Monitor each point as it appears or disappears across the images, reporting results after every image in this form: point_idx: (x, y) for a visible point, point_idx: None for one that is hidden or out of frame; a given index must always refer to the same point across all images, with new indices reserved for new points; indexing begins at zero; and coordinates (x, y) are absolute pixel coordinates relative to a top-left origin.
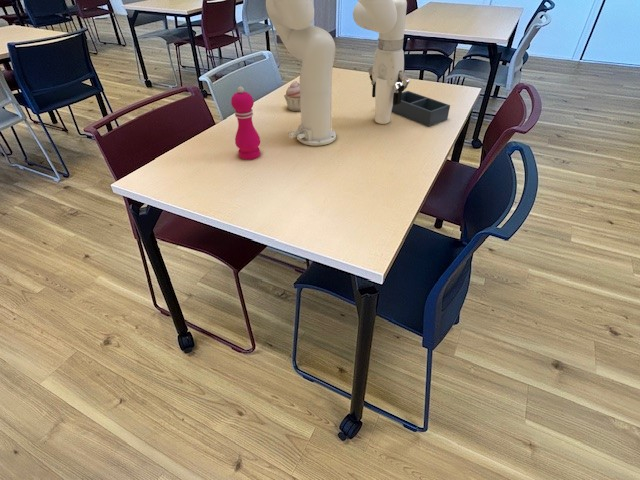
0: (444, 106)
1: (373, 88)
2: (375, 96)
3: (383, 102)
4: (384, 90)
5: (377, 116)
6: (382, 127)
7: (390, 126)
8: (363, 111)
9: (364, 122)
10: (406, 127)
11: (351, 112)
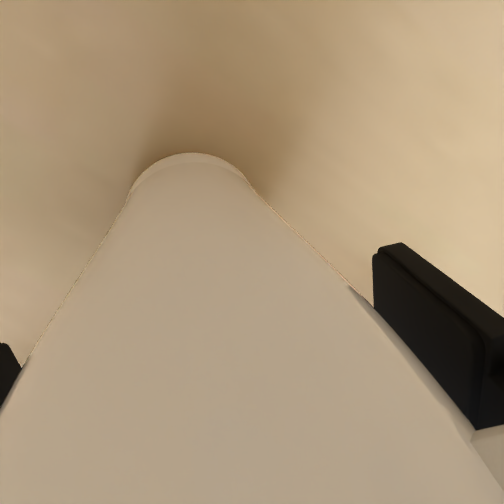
0: None
1: (455, 306)
2: (272, 225)
3: (95, 255)
4: (12, 388)
5: (178, 165)
6: (76, 146)
7: (72, 220)
8: (439, 189)
9: (252, 58)
10: (9, 317)
11: (491, 85)
